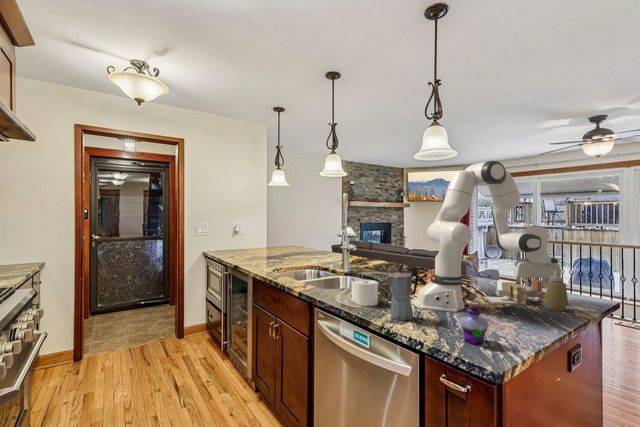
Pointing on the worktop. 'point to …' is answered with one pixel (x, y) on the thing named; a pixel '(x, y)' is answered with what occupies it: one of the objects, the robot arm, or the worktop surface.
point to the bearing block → (517, 294)
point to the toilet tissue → (365, 292)
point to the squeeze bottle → (556, 293)
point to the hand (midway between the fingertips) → (536, 286)
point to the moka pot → (401, 294)
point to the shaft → (529, 293)
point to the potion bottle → (474, 326)
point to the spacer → (504, 285)
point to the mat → (500, 300)
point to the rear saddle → (542, 298)
